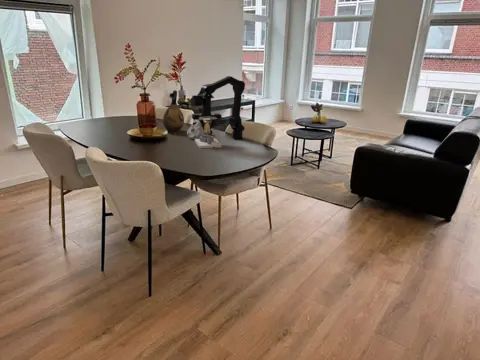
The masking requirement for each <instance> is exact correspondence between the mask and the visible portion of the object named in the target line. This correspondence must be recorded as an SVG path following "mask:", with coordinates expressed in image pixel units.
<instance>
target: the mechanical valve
mask: <svg viewBox="0 0 480 360" xmlns="http://www.w3.org/2000/svg"><path fill="white" fill-rule="evenodd" d="M202 133H203V129H202V126H201V123H200V121H198V120H197V121H196V123H195V124H191V125H190V126H189V128H188V129H187V130H186V135H187V137H188V138H189V139H191V140H195V139H200V136H202ZM207 135H209V136H213V130H212V129H210V134H207Z"/></svg>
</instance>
